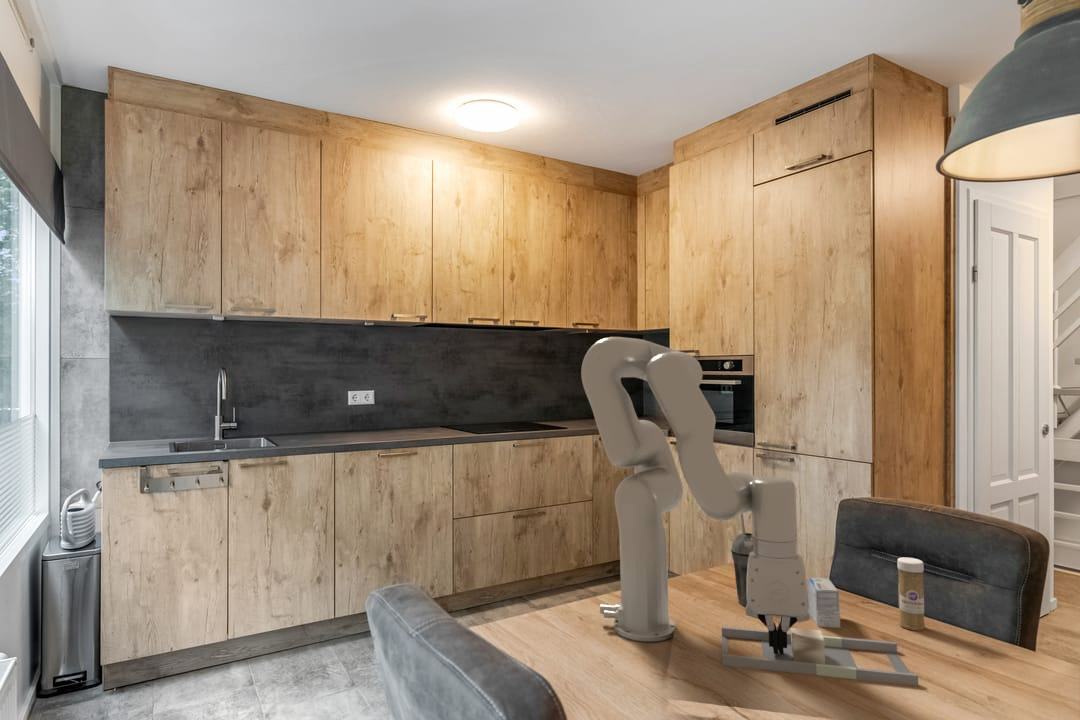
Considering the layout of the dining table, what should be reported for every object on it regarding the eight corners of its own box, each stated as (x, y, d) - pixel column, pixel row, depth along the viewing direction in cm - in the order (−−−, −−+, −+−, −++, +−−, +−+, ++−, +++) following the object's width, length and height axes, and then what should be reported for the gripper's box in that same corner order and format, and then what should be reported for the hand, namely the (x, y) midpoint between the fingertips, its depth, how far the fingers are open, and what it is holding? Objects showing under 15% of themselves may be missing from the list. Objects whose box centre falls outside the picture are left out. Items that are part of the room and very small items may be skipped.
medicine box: (841, 635, 123) (840, 591, 123) (816, 634, 123) (815, 589, 124) (830, 620, 130) (829, 578, 131) (808, 618, 131) (807, 577, 131)
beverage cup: (771, 609, 137) (768, 517, 137) (737, 609, 137) (735, 517, 137) (759, 597, 144) (757, 510, 144) (728, 597, 144) (726, 510, 144)
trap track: (722, 673, 108) (722, 655, 108) (722, 642, 120) (721, 626, 120) (918, 695, 100) (918, 676, 100) (896, 659, 112) (895, 642, 112)
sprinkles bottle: (905, 631, 124) (903, 562, 124) (895, 622, 129) (893, 556, 129) (929, 631, 124) (927, 563, 124) (918, 622, 128) (916, 556, 128)
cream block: (793, 662, 108) (792, 638, 109) (791, 649, 113) (790, 627, 113) (825, 665, 107) (824, 641, 107) (821, 652, 112) (820, 630, 112)
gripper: (731, 550, 110) (734, 655, 110) (823, 555, 106) (827, 665, 106) (731, 539, 118) (733, 638, 117) (817, 544, 113) (820, 646, 113)
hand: (778, 650), depth 111 cm, fingers closed
